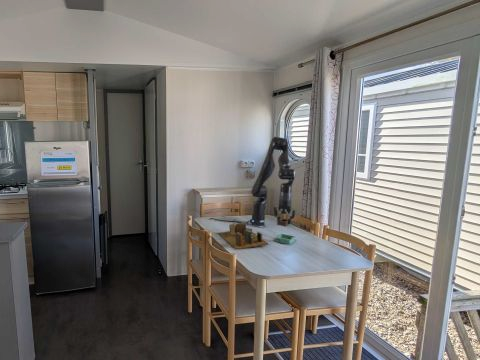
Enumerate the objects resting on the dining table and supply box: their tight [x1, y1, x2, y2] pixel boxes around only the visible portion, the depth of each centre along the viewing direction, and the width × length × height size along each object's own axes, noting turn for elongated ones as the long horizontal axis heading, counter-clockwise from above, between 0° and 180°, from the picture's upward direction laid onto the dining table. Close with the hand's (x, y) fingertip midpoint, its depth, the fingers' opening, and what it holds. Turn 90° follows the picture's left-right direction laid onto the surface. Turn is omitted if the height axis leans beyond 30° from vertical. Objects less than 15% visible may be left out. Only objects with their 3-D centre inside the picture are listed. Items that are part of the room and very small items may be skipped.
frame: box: [276, 217, 290, 227], centre depth 200 cm, size 8×6×3 cm
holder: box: [275, 233, 296, 245], centre depth 205 cm, size 11×9×3 cm
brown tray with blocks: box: [218, 222, 269, 250], centre depth 207 cm, size 35×24×15 cm
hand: (283, 223), depth 200 cm, fingers closed on frame, 6 cm apart
